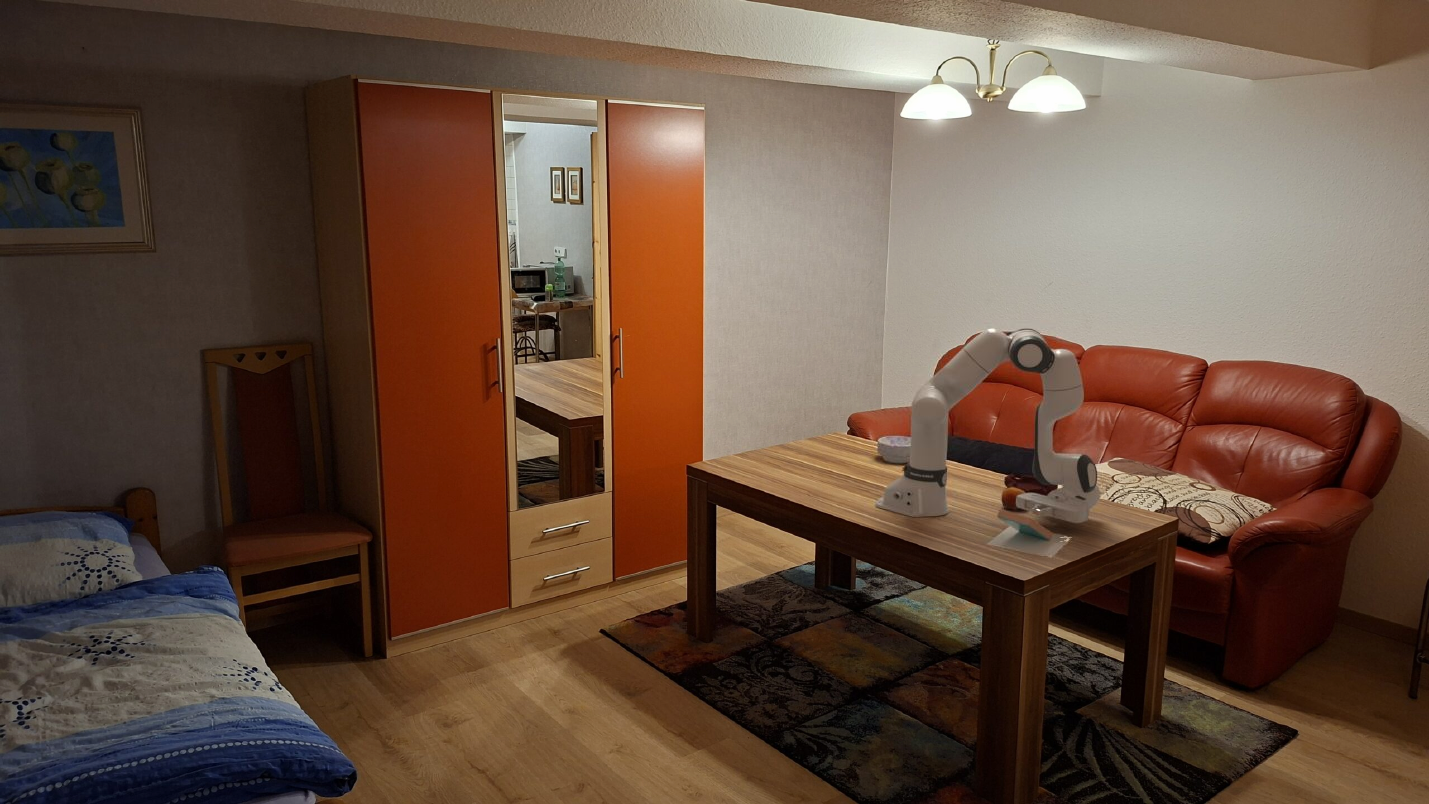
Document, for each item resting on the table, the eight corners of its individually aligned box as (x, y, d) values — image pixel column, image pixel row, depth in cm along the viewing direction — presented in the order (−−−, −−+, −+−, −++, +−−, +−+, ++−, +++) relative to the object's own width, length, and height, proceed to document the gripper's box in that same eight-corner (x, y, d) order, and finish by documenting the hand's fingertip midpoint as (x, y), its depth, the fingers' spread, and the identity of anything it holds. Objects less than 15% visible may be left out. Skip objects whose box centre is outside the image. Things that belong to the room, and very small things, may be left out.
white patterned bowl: (879, 465, 352) (880, 444, 350) (874, 455, 367) (875, 435, 365) (921, 466, 351) (922, 445, 350) (914, 455, 366) (915, 435, 364)
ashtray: (1060, 506, 305) (1061, 491, 304) (1007, 502, 309) (1008, 487, 308) (1052, 490, 322) (1054, 476, 321) (1002, 487, 326) (1003, 473, 325)
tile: (1050, 540, 271) (1028, 525, 262) (1019, 531, 279) (996, 516, 270) (1053, 533, 272) (1031, 518, 263) (1022, 524, 279) (999, 509, 270)
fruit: (995, 506, 298) (1001, 482, 300) (1001, 513, 305) (1006, 490, 307) (1021, 511, 294) (1027, 486, 296) (1026, 518, 300) (1032, 494, 302)
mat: (986, 545, 268) (986, 544, 268) (1011, 526, 284) (1011, 524, 284) (1051, 559, 257) (1051, 557, 257) (1073, 538, 274) (1073, 536, 274)
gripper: (1031, 485, 289) (1005, 493, 281) (1094, 501, 274) (1069, 510, 265) (1029, 505, 291) (1003, 513, 282) (1092, 522, 275) (1067, 532, 267)
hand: (1035, 512), depth 273 cm, fingers closed
